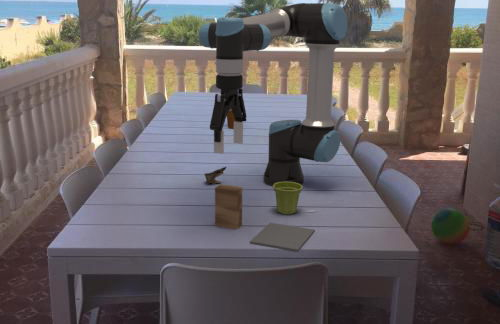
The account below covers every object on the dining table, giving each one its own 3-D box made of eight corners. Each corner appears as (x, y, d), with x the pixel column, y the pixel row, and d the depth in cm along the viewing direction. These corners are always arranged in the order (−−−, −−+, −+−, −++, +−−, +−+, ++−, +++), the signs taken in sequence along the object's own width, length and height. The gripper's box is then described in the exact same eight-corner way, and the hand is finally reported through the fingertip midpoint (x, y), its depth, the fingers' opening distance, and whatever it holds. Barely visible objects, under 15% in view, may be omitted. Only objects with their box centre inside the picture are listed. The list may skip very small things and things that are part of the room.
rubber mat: (269, 224, 179) (270, 222, 178) (314, 231, 174) (314, 229, 173) (249, 243, 164) (249, 241, 164) (297, 251, 159) (298, 249, 159)
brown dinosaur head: (224, 183, 222) (226, 165, 221) (225, 186, 216) (227, 167, 215) (203, 182, 221) (205, 164, 221) (203, 184, 215) (205, 165, 214)
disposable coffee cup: (223, 126, 320) (223, 104, 317) (239, 125, 323) (240, 103, 320) (227, 130, 311) (227, 107, 308) (245, 129, 314) (245, 106, 311)
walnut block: (220, 221, 180) (220, 184, 177) (241, 225, 178) (242, 187, 175) (215, 226, 177) (215, 187, 174) (236, 229, 174) (236, 190, 171)
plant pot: (299, 206, 195) (300, 181, 192) (303, 216, 186) (304, 190, 183) (271, 206, 194) (272, 181, 192) (273, 216, 185) (274, 190, 183)
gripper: (234, 69, 178) (234, 138, 184) (196, 77, 156) (197, 156, 161) (258, 70, 175) (256, 140, 181) (222, 79, 153) (222, 159, 158)
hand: (228, 148), depth 171 cm, fingers open, 13 cm apart
